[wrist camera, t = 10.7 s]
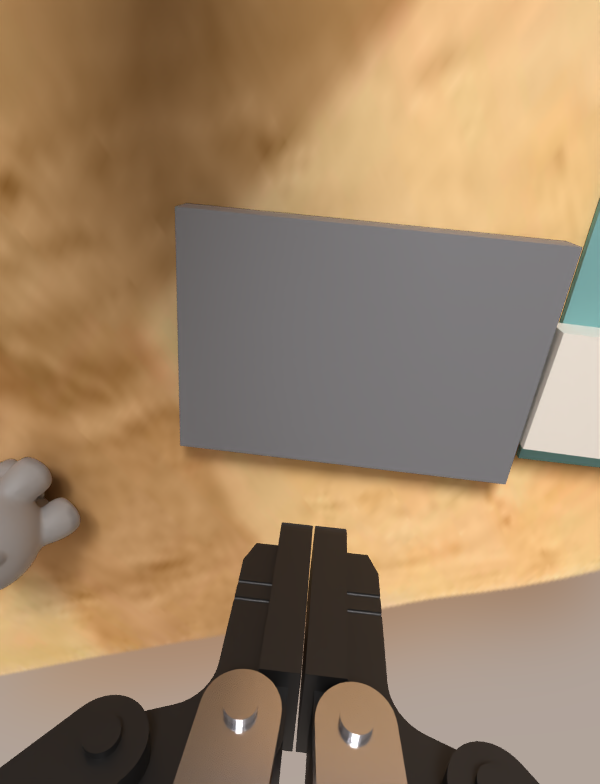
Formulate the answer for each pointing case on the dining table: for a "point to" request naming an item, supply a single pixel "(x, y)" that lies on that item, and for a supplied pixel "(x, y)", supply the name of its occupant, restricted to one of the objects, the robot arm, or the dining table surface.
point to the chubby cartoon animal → (29, 516)
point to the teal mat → (579, 322)
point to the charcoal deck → (362, 339)
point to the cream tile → (567, 396)
